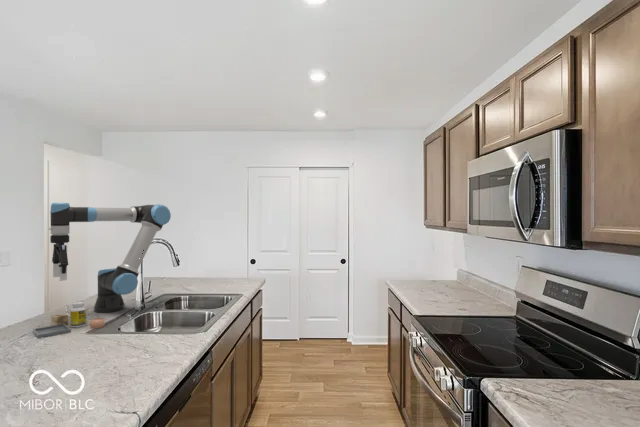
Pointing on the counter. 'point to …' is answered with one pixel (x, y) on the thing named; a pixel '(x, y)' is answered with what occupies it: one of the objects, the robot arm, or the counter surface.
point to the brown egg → (97, 323)
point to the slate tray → (51, 330)
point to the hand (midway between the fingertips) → (59, 278)
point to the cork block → (59, 319)
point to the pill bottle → (78, 315)
